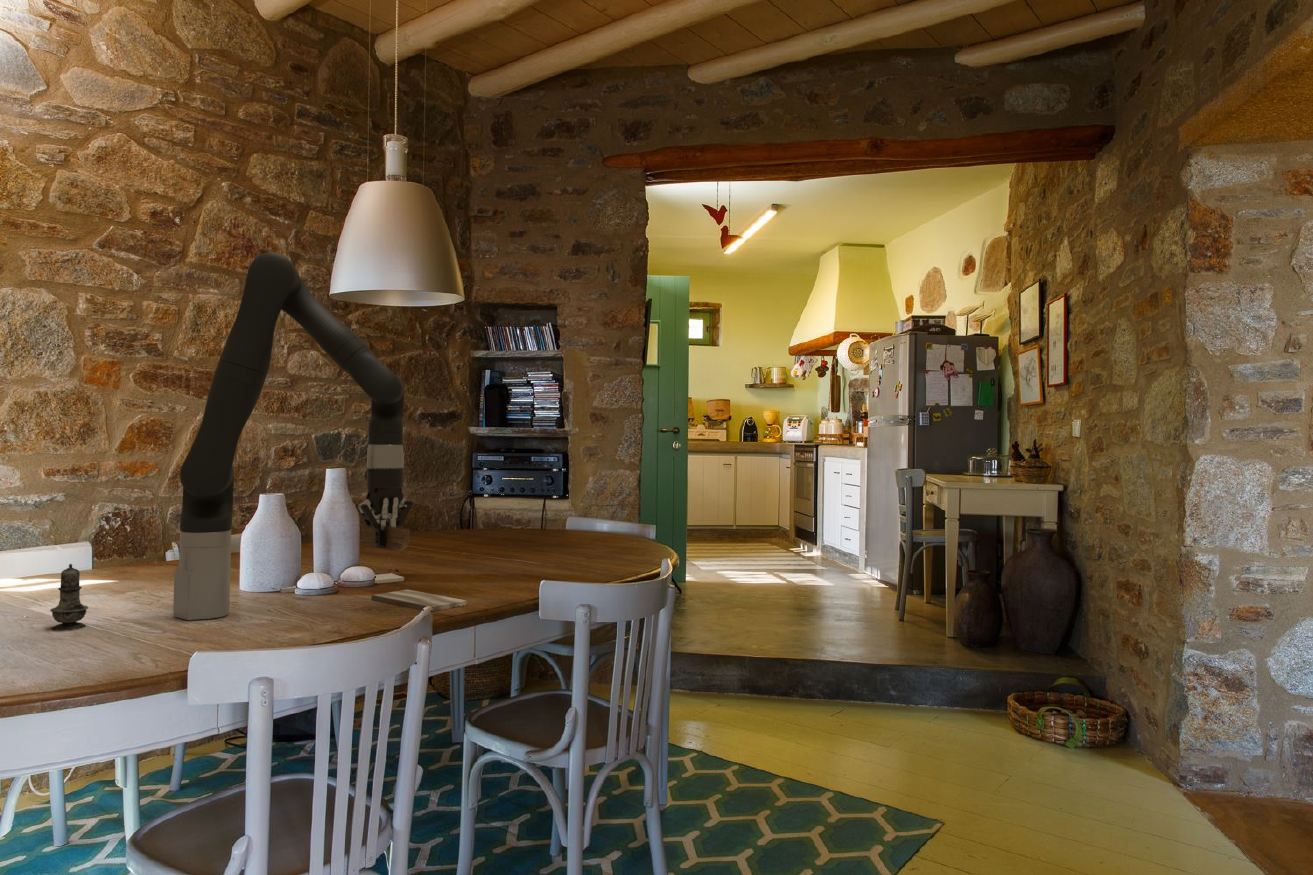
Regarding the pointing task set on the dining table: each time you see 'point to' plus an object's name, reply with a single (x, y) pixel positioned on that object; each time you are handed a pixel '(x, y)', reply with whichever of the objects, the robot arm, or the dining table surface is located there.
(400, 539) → the driftwood piece
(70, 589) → the salt shaker
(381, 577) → the baseboard
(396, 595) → the floor panel
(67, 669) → the dining table surface
